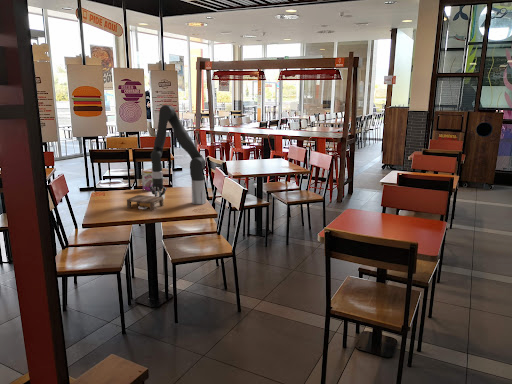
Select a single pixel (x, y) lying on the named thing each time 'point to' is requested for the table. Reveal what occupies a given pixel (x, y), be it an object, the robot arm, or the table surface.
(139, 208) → the steel token
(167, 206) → the table surface
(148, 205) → the long white slat
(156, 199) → the low walnut stand
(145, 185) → the candy bar box
